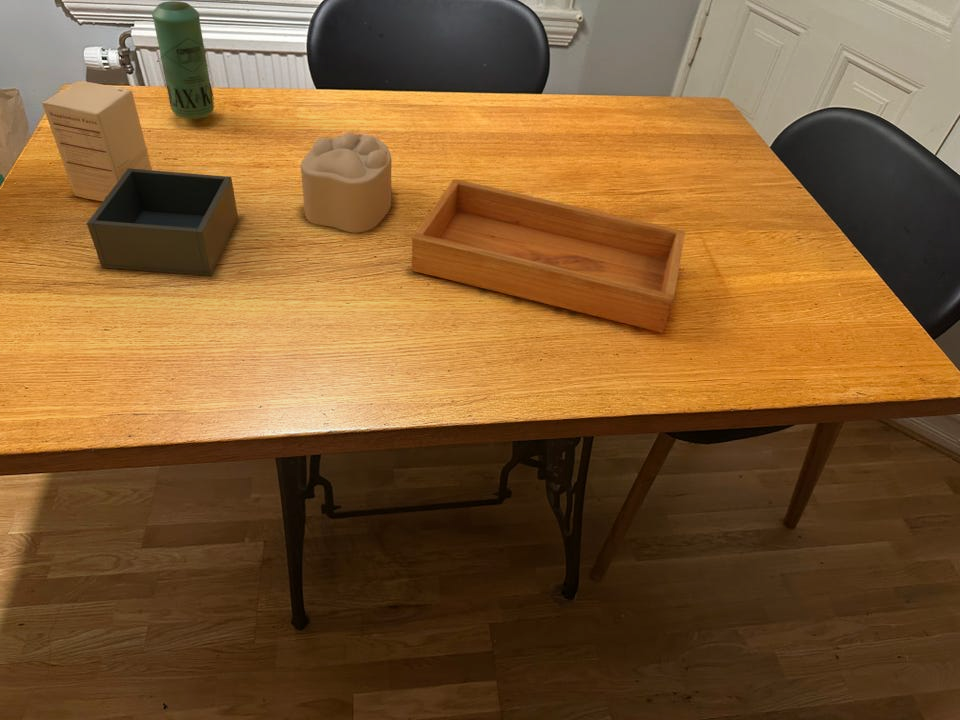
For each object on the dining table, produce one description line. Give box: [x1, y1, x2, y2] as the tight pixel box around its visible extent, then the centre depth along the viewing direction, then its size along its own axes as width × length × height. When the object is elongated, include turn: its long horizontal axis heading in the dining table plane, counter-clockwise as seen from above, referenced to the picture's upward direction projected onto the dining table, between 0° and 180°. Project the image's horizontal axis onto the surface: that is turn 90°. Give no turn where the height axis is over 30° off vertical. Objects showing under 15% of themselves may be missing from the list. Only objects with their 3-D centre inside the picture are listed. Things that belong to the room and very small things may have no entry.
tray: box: [411, 178, 686, 333], centre depth 86 cm, size 31×15×6 cm, turn 73°
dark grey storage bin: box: [86, 168, 239, 277], centre depth 83 cm, size 12×12×6 cm
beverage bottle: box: [151, 0, 216, 120], centre depth 102 cm, size 6×7×20 cm
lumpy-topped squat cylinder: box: [300, 132, 393, 234], centre depth 92 cm, size 10×13×9 cm
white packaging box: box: [41, 80, 153, 203], centre depth 88 cm, size 7×7×13 cm
